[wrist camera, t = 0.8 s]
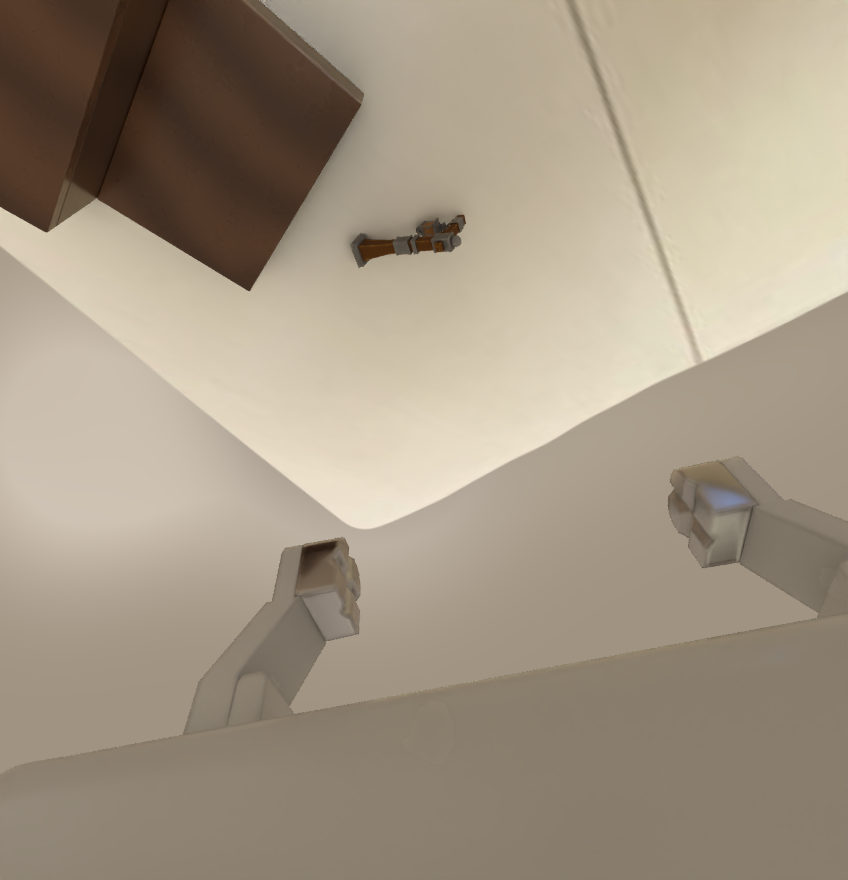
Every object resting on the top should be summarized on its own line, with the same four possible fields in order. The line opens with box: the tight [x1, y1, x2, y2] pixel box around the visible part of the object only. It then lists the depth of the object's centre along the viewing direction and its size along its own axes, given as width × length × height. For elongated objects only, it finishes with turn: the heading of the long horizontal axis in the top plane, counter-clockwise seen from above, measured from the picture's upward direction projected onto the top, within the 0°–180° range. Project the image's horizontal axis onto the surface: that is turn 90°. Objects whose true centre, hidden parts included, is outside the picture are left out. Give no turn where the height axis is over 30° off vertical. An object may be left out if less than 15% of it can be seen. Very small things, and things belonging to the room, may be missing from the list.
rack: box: [0, 0, 364, 291], centre depth 28 cm, size 14×16×10 cm
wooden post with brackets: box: [350, 215, 466, 268], centre depth 36 cm, size 2×8×4 cm, turn 105°
